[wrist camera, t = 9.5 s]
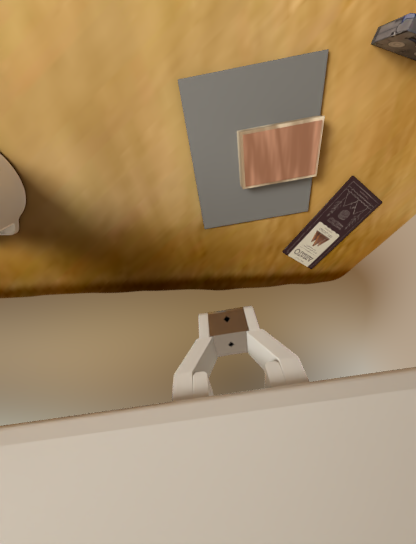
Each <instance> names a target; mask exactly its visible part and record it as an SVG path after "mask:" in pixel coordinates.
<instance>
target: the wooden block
mask: <svg viewBox="0 0 416 544" xmlns="http://www.w3.org/2000/svg"><path fill="white" fill-rule="evenodd" d="M324 117H325V116H312V117H307V118H302V119H297V120H291V121H286V122H281V123H276V124H271V125H265V126H260V127H255V128H250V129H244V130H239V131H237V143H238V158H239V174H240V186H241V187H242V189H247V188H253V187H259V186H264V185H270V184H275V183H281V182H286V181H292V180H297V179H303V178H309V177H314V176H316V175H317V168H318V161H319V154H320V146H321V139H322V132H323V125H324Z"/></svg>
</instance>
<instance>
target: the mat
mask: <svg viewBox="0 0 416 544" xmlns="http://www.w3.org/2000/svg"><path fill="white" fill-rule="evenodd" d="M328 50H329V49H327V50H322V51H317V52H312V53H308V54H303V55H298V56H293V57H288V58H283V59H278V60H273V61H268V62H263V63H258V64H253V65H248V66H243V67H238V68H233V69H228V70H223V71H218V72H213V73H209V74H204V75H199V76H194V77H189V78H184V79H179V80H178V84H179V89H180V95H181V101H182V106H183V112H184V117H185V123H186V128H187V134H188V139H189V145H190V150H191V156H192V162H193V167H194V173H195V178H196V184H197V189H198V195H199V200H200V206H201V212H202V217H203V223H204V228H205V229H208V228H213V227H219V226H225V225H231V224H236V223H242V222H248V221H254V220H259V219H265V218H271V217H277V216H282V215H288V214H294V213H300V212H305V211H308V206H309V199H310V191H311V183H312V177H309V178H303V179H297V180H292V181H286V182H281V183H275V184H270V185H264V186H259V187H253V188H247V189H242V187H241V186H240V174H239V158H238V143H237V131H239V130H244V129H250V128H255V127H260V126H265V125H271V124H276V123H281V122H286V121H291V120H297V119H302V118H307V117H312V116H320V112H321V105H322V97H323V89H324V81H325V73H326V65H327V58H328Z"/></svg>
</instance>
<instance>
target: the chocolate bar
mask: <svg viewBox="0 0 416 544" xmlns="http://www.w3.org/2000/svg"><path fill="white" fill-rule="evenodd" d="M381 203H382V201H381V200H379V199H378V198H377V197H376V196H375V195H374V194H373V193H372V192H371V191H370V190H368V189H367V188H366V187H365V186H364V185H363V184H362V183H361V182H360V181H359V180H357V179H356V178H355V177H354V176H352V177H351V178H350V179H349V180H348V181H347V182H346V183H345V184H344V185H343V186H342V187H341V189H340V190H339V191H338V192H337V193H336V194H335V195H334V196H333V197H332V198H331V199H330V200H329V202H328V203H327V204H326V205H325V206H324V207H323V208H322V209H321V210H320V211H319V212H318V213H317V215H316V216H315V217H314V218H313V219H312V220H311V221H310V222H309V223H308V224H307V225H306V226H305V228H304V229H303V230H302V231H301V232H300V233H299V234H298V235H297V236H296V237H295V238H294V240H293V241H292V242H291V243H290V244H289V245H288V246H287V247H286V248H285V249H284V250H283V253H285V254H286V255H288V256H290V257H291V258H293V259H295V260H297V261H298V262H300V263H302V264H303V265H305V266H307V267H309V268H310V269H312V268H313V267H314V266H315V265H316V264H317V263H319V262H320V261H321V260H322V259H323V258H324V257H325V256H326V255H327V254H328V253H329V252H330V251H331V250H332V249H333V248H334V247H336V246H337V245H338V244H339V243H340V242H341V241H342V240H343V239H344V238H345V237H346V236H347V235H348V234H349V233H350V232H351V231H352V230H354V229H355V228H356V227H357V226H358V225H359V224H360V223H361V222H362V221H363V220H364V219H365V218H366V217H367V216H368V215H369V214H371V213H372V212H373V211H374V210H375V209H376V208H377V207H378V206H379V205H380V204H381Z"/></svg>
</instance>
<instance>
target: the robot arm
mask: <svg viewBox="0 0 416 544" xmlns="http://www.w3.org/2000/svg"><path fill="white" fill-rule="evenodd" d="M25 205H26V195H25V190H24V187H23V184H22V182H21V180H20V178H19V176H18V174H17V173H16V171H15V170H14V168H13V167H12V166H11V164H10V163H9V162H8V161H7V160H6V159H5V158H4V157H3V156H2V155H1V154H0V235H13V234H15V233H17V232H18V231H19V217H20V216H21V214H22V212H23V211H24V208H25ZM198 319H199V339H196V341H195V342H194V344H193V345H192V347H191V349H190V350H189V352H188V353H187V355H186V357H185V358H184V360H183V361H182V363H181V364H180V366H179V367H178V369H177V371H176V372H175V374H174V380H173V394H172V402H166V403H159V404H152V405H145V406H138V407H132V408H124V409H117V410H110V411H102V412H95V413H88V414H82V415H74V416H67V417H61V418H53V419H46V420H39V421H32V422H25V423H18V424H11V425H3V426H0V544H416V367H412V368H404V369H397V370H390V371H383V372H376V373H369V374H362V375H356V376H348V377H341V378H334V379H328V380H320V381H313V382H309V380H308V378H307V375H306V373H305V371H304V369H303V366H302V364H301V362H300V359H299V357H298V356H297V355H295V354H294V353H293V352H292V351H290V350H289V349H288V348H287V347H285V346H284V345H283V344H281V343H280V342H279V341H278V340H276V339H275V338H273V336H271V335H270V334H269V333H267V332H266V331H265V330H264V329H260V328H259V324H258V321H257V318H256V315H255V312H254V309H253V307H252V306H247V307H240V308H234V309H229V310H224V311H217V312H208V313H203V314H199V316H198ZM232 353H233V354H239V353H249V355H250V356H251V357H252V358H253V359H254V360H255V361H256V362H257V363H258V364H259V365H260V366H261V368H262V369H263V370H264V371H265V388H264V389H257V390H250V391H243V392H236V393H229V394H222V395H215V396H214V395H213V391H212V388H211V385H210V382H209V376H210V374H211V371H212V369H213V367H214V365H215V363H216V360H217V357H220V356H226V355H231V354H232Z"/></svg>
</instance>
